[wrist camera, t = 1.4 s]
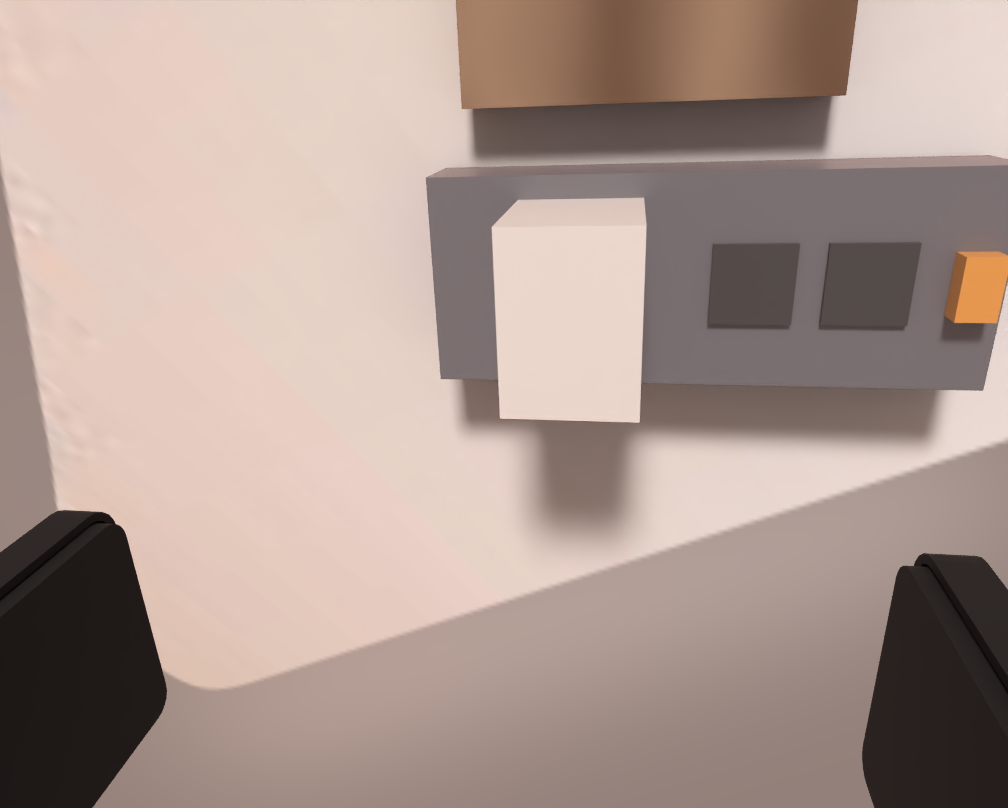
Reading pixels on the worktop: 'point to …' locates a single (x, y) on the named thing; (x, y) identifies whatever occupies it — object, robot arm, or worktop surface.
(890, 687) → the robot arm
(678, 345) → the power strip
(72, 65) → the worktop surface
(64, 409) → the worktop surface
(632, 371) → the block
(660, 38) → the pad
